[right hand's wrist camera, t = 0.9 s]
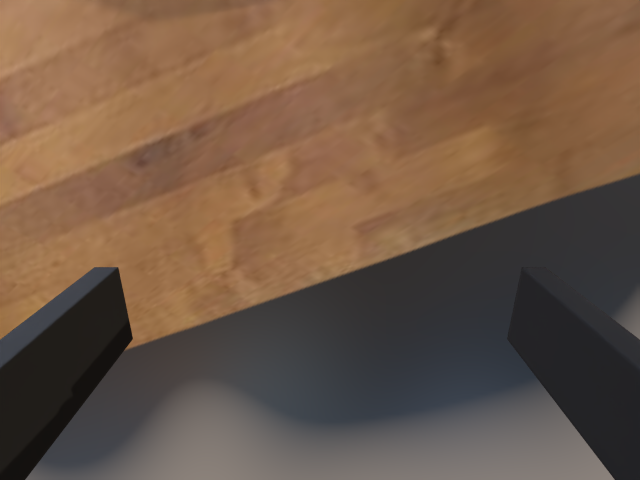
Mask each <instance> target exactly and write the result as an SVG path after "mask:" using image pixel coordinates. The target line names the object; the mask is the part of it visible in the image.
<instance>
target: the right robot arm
mask: <svg viewBox="0 0 640 480" xmlns="http://www.w3.org/2000/svg"><path fill="white" fill-rule="evenodd" d="M132 339H133V337H132V332H131V328H130V323H129V318H128V313H127V308H126V303H125V298H124V293H123V289H122V284H121V279H120V274H119V269H118V267H94V268H93V269H92V270H91V271H89V272H88V273H87V274H85V275H84V276H83V277H81V278H80V279H79V280H77V281H76V282H75V283H74V284H72V285H71V286H70V287H68V288H67V289H66V290H64V291H63V292H62V293H61V294H59V295H58V296H57V297H55V298H54V299H53V300H51V301H50V302H49V303H48V304H46V305H45V306H44V307H42V308H41V309H40V310H38V311H37V312H36V313H34V314H33V315H32V316H31V317H29V318H28V319H27V320H25V321H24V322H23V323H21V324H20V325H19V326H18V327H16V328H15V329H14V330H12V331H11V332H10V333H8V334H7V335H6V336H5V337H3V338H2V339H1V340H0V480H25V479H26V478H27V476H28V475H29V474H30V473H31V471H32V470H33V469H34V467H35V466H36V465H37V463H38V462H39V461H40V460H41V458H42V457H43V456H44V454H45V453H46V452H47V450H48V449H49V448H50V446H51V445H52V444H53V443H54V441H55V440H56V439H57V437H58V436H59V435H60V433H61V432H62V431H63V429H64V428H65V427H66V425H67V424H68V423H69V422H70V420H71V419H72V418H73V416H74V415H75V414H76V412H77V411H78V410H79V408H80V407H81V406H82V405H83V403H84V402H85V401H86V399H87V398H88V397H89V395H90V394H91V393H92V392H93V390H94V389H95V388H96V386H97V385H98V384H99V382H100V381H101V380H102V378H103V377H104V376H105V375H106V373H107V372H108V371H109V369H110V368H111V367H112V365H113V364H114V363H115V362H116V360H117V359H118V358H119V356H120V355H121V354H122V352H123V351H124V350H125V348H126V347H127V346H128V345H129V343H130V342H131V341H132ZM507 339H508V341H509V342H510V343H511V345H512V346H513V347H514V348H515V350H516V351H517V352H518V354H519V355H520V356H521V358H522V359H523V360H524V361H525V363H526V364H527V365H528V367H529V368H530V369H531V371H532V372H533V373H534V375H535V376H536V377H537V379H538V380H539V381H540V382H541V384H542V385H543V386H544V388H545V389H546V390H547V392H548V393H549V394H550V396H551V397H552V398H553V399H554V401H555V402H556V403H557V405H558V406H559V407H560V409H561V410H562V411H563V412H564V414H565V415H566V416H567V418H568V419H569V420H570V422H571V423H572V424H573V426H574V427H575V428H576V429H577V431H578V432H579V433H580V435H581V436H582V437H583V439H584V440H585V441H586V443H587V444H588V445H589V446H590V448H591V449H592V450H593V452H594V453H595V454H596V456H597V457H598V458H599V460H600V461H601V462H602V463H603V465H604V466H605V467H606V469H607V470H608V471H609V473H610V474H611V475H612V477H613V478H614V479H615V480H640V340H639V339H638V338H637V337H635V336H634V335H633V334H632V333H630V332H629V331H628V330H626V329H625V328H624V327H622V326H621V325H620V324H619V323H617V322H616V321H615V320H613V319H612V318H611V317H609V316H608V315H607V314H605V313H604V312H603V311H602V310H600V309H599V308H598V307H596V306H595V305H594V304H592V303H591V302H590V301H589V300H587V299H586V298H585V297H583V296H582V295H581V294H579V293H578V292H577V291H576V290H574V289H573V288H572V287H570V286H569V285H568V284H566V283H565V282H564V281H563V280H561V279H560V278H559V277H557V276H556V275H555V274H553V273H552V272H551V271H549V270H548V269H547V268H545V267H522V269H521V274H520V279H519V284H518V289H517V293H516V298H515V303H514V308H513V313H512V318H511V323H510V328H509V332H508V337H507Z"/></svg>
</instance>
